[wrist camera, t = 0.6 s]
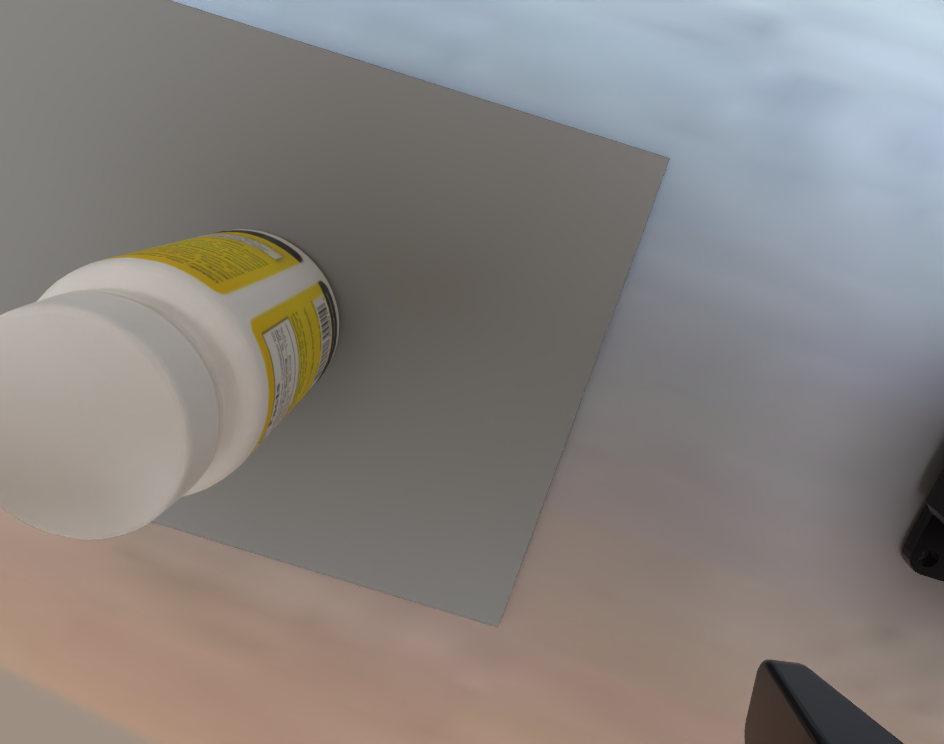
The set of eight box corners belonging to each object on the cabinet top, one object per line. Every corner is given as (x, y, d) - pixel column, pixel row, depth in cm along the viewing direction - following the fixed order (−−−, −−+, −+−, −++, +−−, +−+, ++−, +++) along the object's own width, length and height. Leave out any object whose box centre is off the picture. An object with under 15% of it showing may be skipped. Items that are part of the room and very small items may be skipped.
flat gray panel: (668, 158, 18) (669, 158, 18) (498, 623, 22) (498, 627, 21) (-120, -91, 17) (-126, -93, 17) (-146, 426, 21) (-151, 429, 21)
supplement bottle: (134, 293, 19) (-144, 385, 11) (266, 190, 18) (64, 211, 10) (246, 433, 20) (62, 610, 12) (378, 342, 19) (273, 469, 11)
